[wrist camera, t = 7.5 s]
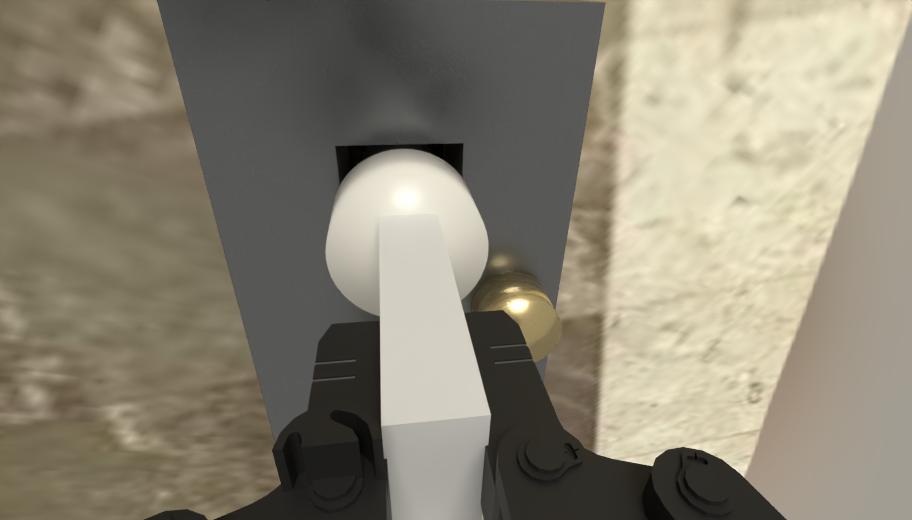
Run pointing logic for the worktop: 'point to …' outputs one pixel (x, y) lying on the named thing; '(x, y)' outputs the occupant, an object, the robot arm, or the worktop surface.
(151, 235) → the worktop surface
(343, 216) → the knob
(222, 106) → the mount
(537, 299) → the brass dial
